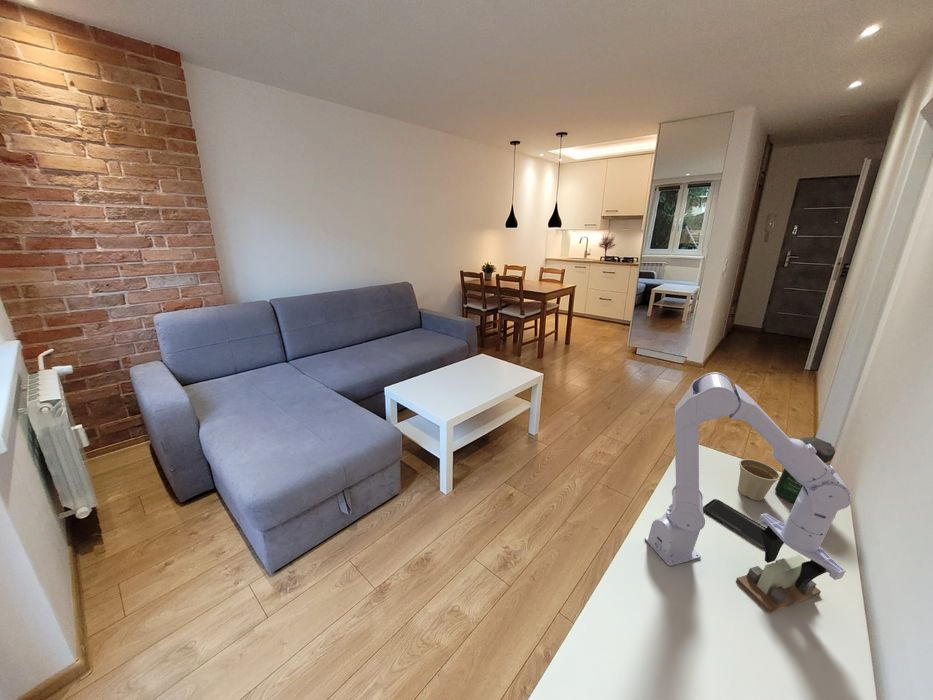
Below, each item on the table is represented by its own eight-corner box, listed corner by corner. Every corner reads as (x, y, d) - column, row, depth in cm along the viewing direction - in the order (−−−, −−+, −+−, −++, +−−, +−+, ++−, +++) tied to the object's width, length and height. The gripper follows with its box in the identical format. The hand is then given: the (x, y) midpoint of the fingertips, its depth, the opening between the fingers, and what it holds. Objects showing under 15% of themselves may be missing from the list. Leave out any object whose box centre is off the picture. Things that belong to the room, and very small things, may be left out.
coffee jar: (803, 510, 101) (829, 454, 95) (770, 492, 107) (792, 439, 101) (817, 499, 106) (842, 445, 99) (784, 482, 112) (806, 430, 106)
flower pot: (723, 485, 109) (731, 461, 107) (745, 480, 112) (754, 456, 109) (754, 507, 101) (764, 482, 98) (778, 501, 104) (788, 476, 101)
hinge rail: (768, 612, 73) (774, 600, 72) (735, 581, 79) (740, 569, 78) (819, 594, 77) (825, 582, 76) (784, 566, 84) (789, 554, 82)
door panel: (766, 594, 76) (775, 573, 74) (756, 585, 78) (765, 565, 76) (799, 583, 79) (809, 563, 76) (789, 575, 80) (799, 555, 78)
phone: (715, 497, 103) (779, 535, 91) (714, 501, 103) (777, 539, 92) (701, 508, 99) (765, 548, 87) (700, 511, 99) (764, 552, 87)
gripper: (866, 549, 67) (837, 601, 72) (783, 494, 80) (763, 541, 85) (841, 557, 65) (813, 610, 70) (759, 500, 78) (740, 547, 83)
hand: (784, 573), depth 77 cm, fingers open, 5 cm apart
